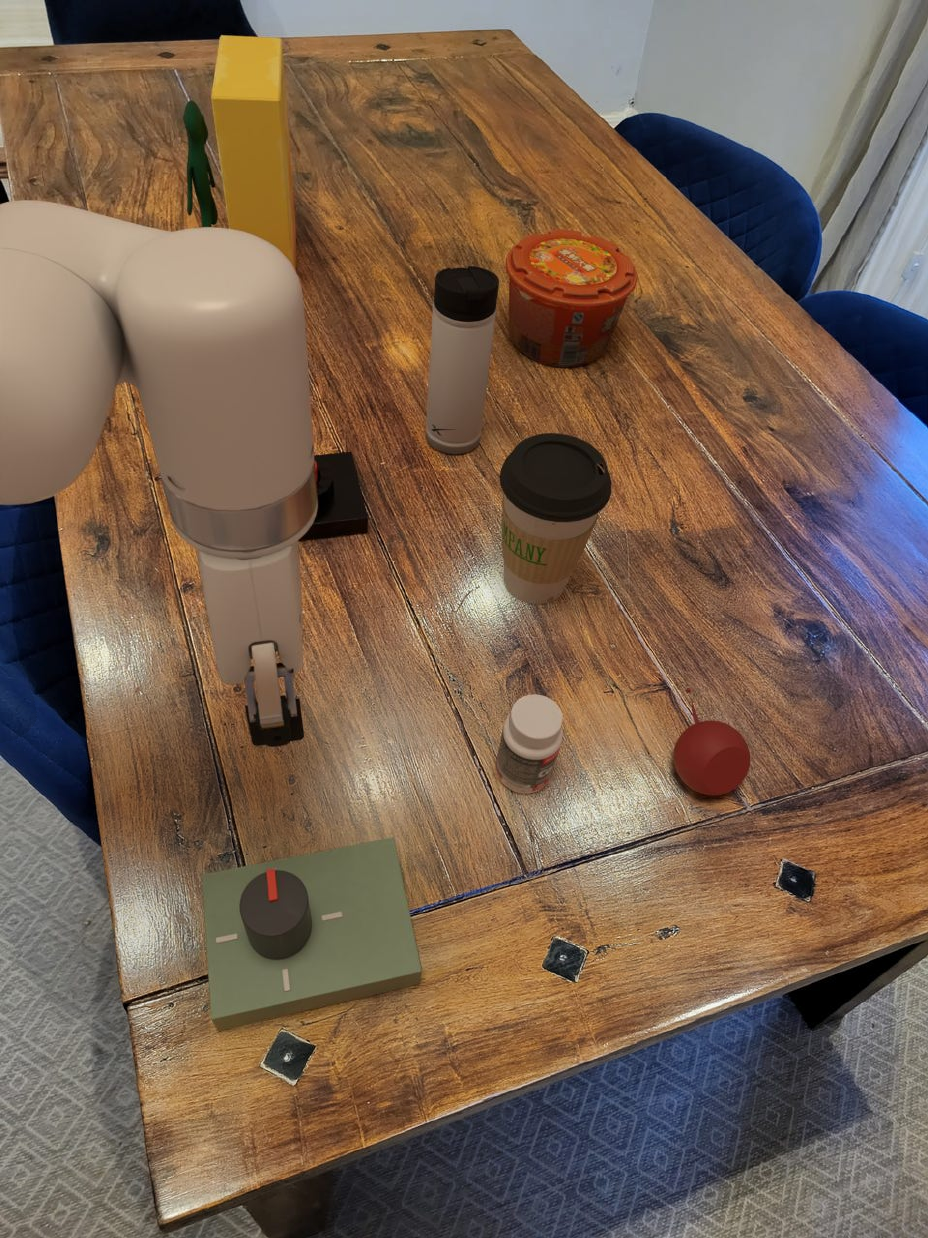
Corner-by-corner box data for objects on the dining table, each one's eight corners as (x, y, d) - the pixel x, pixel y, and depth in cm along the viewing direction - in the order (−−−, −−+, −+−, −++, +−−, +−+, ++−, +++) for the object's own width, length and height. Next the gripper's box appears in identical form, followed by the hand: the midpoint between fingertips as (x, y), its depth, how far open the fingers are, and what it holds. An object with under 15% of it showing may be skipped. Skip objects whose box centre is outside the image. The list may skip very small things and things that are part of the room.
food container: (640, 334, 115) (661, 256, 106) (582, 393, 106) (600, 313, 97) (536, 289, 119) (549, 212, 111) (472, 342, 110) (480, 263, 102)
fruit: (717, 758, 78) (719, 678, 75) (757, 791, 73) (761, 707, 70) (657, 776, 76) (656, 695, 73) (693, 811, 71) (694, 726, 68)
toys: (206, 228, 122) (175, 32, 103) (296, 230, 124) (281, 37, 105) (197, 298, 112) (161, 94, 93) (295, 299, 113) (280, 98, 94)
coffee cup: (486, 539, 89) (502, 423, 78) (581, 547, 90) (612, 432, 78) (483, 614, 83) (501, 500, 71) (586, 623, 84) (620, 510, 72)
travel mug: (434, 460, 96) (445, 295, 80) (419, 422, 100) (427, 257, 84) (488, 453, 98) (510, 290, 82) (471, 416, 101) (489, 253, 86)
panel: (217, 1031, 59) (210, 1019, 56) (207, 890, 65) (201, 873, 62) (420, 984, 62) (422, 970, 59) (393, 853, 68) (394, 835, 65)
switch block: (247, 547, 86) (242, 518, 83) (238, 478, 92) (233, 449, 89) (368, 533, 89) (367, 504, 85) (352, 466, 94) (351, 437, 91)
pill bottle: (542, 802, 71) (559, 751, 65) (487, 784, 72) (498, 731, 66) (557, 755, 74) (575, 701, 68) (504, 737, 75) (516, 682, 68)
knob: (315, 953, 60) (311, 927, 56) (250, 966, 59) (241, 941, 55) (308, 891, 62) (303, 862, 58) (245, 903, 61) (236, 874, 57)
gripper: (164, 385, 49) (209, 584, 62) (167, 627, 39) (220, 803, 52) (299, 377, 50) (315, 573, 64) (336, 608, 40) (346, 783, 54)
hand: (272, 676), depth 58 cm, fingers open, 9 cm apart
